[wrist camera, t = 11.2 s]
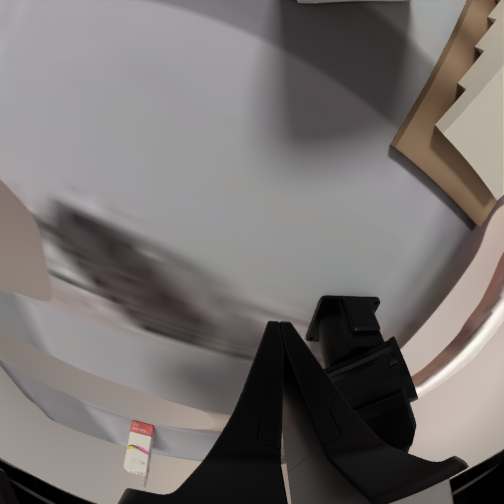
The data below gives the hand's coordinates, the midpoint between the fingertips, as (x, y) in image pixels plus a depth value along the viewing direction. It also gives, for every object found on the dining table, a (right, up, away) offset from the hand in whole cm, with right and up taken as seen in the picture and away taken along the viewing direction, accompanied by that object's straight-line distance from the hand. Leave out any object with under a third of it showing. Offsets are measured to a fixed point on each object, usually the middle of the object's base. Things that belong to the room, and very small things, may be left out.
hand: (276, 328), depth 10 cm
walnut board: (+21, +17, +3) cm, 27 cm away
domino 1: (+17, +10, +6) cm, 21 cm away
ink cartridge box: (-25, -36, +39) cm, 59 cm away
